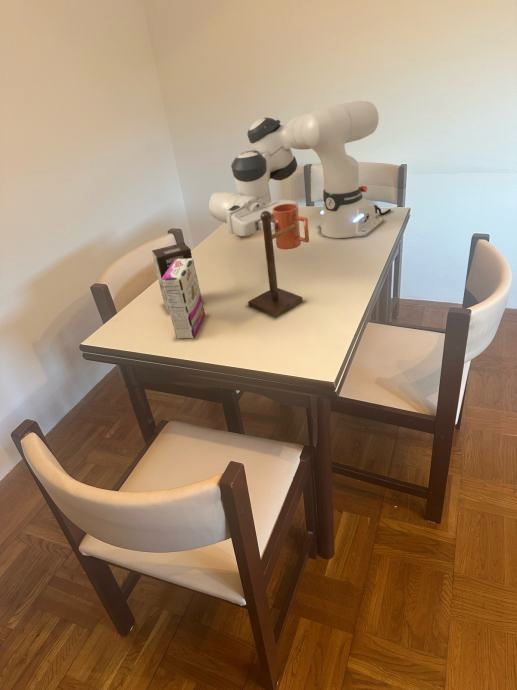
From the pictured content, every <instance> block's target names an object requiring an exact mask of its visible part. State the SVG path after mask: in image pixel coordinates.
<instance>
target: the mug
mask: <svg viewBox="0 0 517 690" xmlns="http://www.w3.org/2000/svg"><path fill="white" fill-rule="evenodd" d="M272 210H273V219H274V222H277V226H278V228H277V229H275V230H274V233H277V232H279V231H281V230H283V229H285V228H288V227H290V226H291V225H292V224H296V225H297V229H296V230H292V231H290V232H288V233H285V234H283V235H281V236H279V237H277V238H275V242H276V247H277V249H280V250H285V251H287V250H294V249H296V248H298V247H300V246H301V245H302V242H303V243H309V242H310V233H309V232H310V231H309V221H308V220H309V219H308V217H305V216H300V215H299V205H298V206H297V205H295V204H282V205H278V206H276V207H274V208H273V209H272ZM300 222H303V230H304V232H303V233H304V237H302V236H301V227H300Z"/></svg>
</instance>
